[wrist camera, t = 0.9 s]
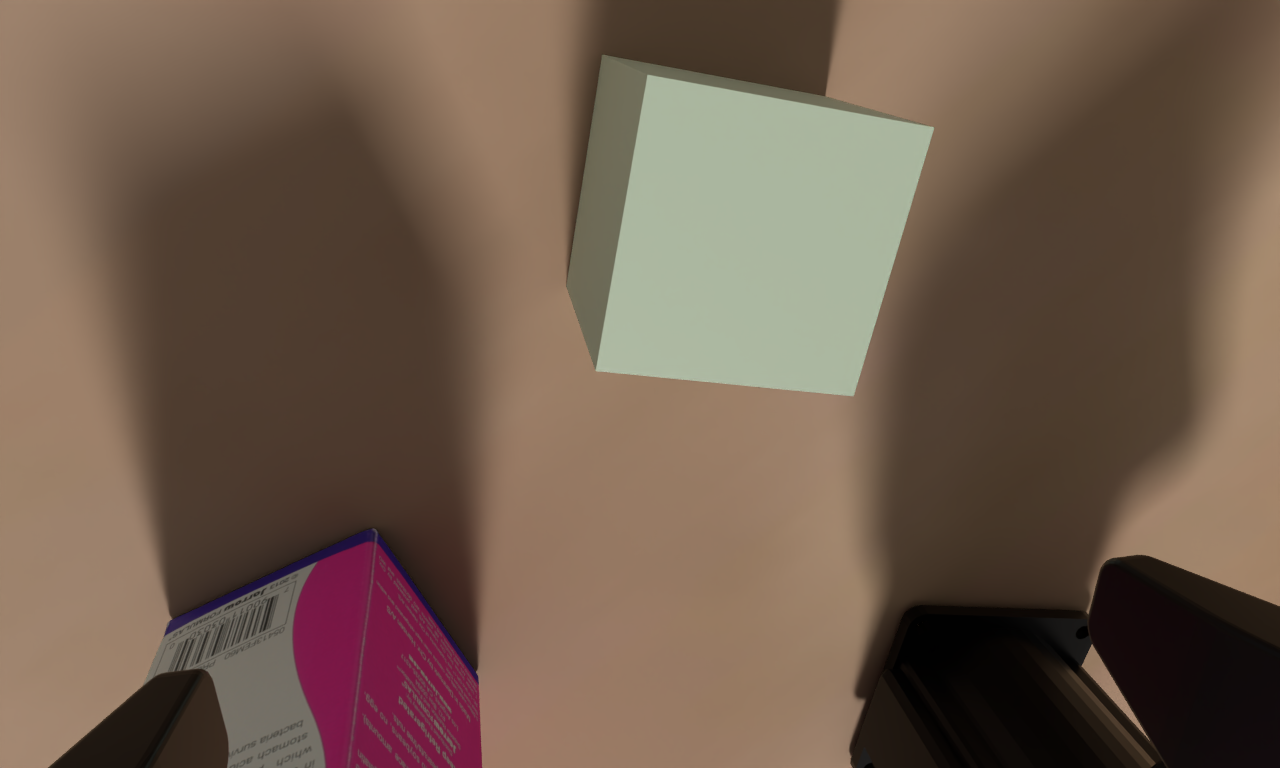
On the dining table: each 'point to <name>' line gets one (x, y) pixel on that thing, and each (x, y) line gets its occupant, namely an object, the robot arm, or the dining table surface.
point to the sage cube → (736, 228)
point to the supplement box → (333, 667)
